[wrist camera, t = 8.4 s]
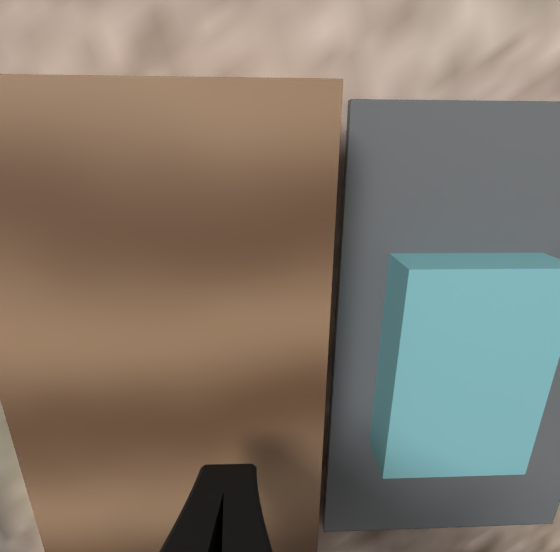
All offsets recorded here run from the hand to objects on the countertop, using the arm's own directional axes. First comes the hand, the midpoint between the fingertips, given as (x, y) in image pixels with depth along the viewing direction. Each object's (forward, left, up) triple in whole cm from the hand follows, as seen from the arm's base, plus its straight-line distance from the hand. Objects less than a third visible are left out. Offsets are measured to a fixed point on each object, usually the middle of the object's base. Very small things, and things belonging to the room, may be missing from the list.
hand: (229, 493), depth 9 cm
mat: (0, -10, -7) cm, 12 cm away
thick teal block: (0, -9, -4) cm, 10 cm away
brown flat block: (0, +2, -7) cm, 7 cm away
